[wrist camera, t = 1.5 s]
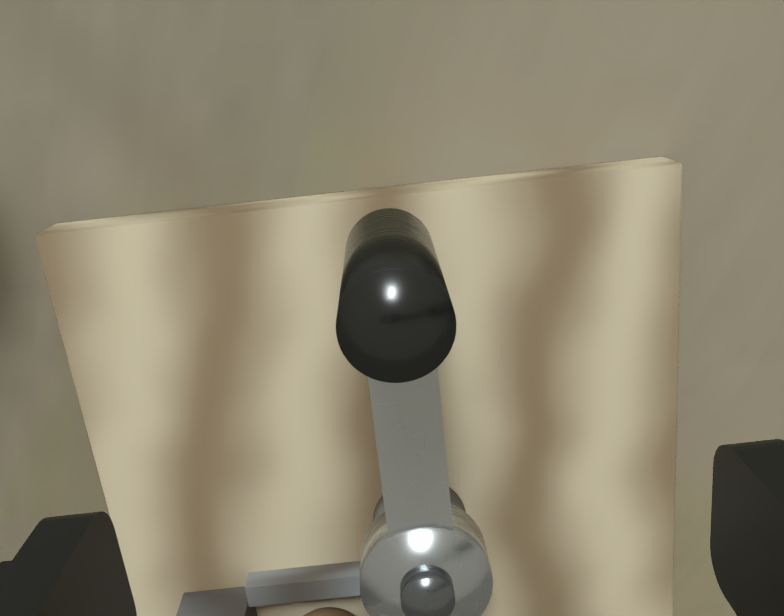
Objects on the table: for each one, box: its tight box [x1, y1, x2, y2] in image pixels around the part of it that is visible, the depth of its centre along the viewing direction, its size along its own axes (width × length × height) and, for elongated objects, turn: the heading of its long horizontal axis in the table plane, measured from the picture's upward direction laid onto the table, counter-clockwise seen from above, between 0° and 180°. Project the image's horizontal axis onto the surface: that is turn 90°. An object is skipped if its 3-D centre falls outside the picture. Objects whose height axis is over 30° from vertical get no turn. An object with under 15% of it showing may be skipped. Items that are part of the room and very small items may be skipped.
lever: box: [336, 208, 493, 616], centre depth 25 cm, size 5×21×10 cm, turn 6°
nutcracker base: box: [35, 157, 682, 616], centre depth 30 cm, size 24×23×7 cm
